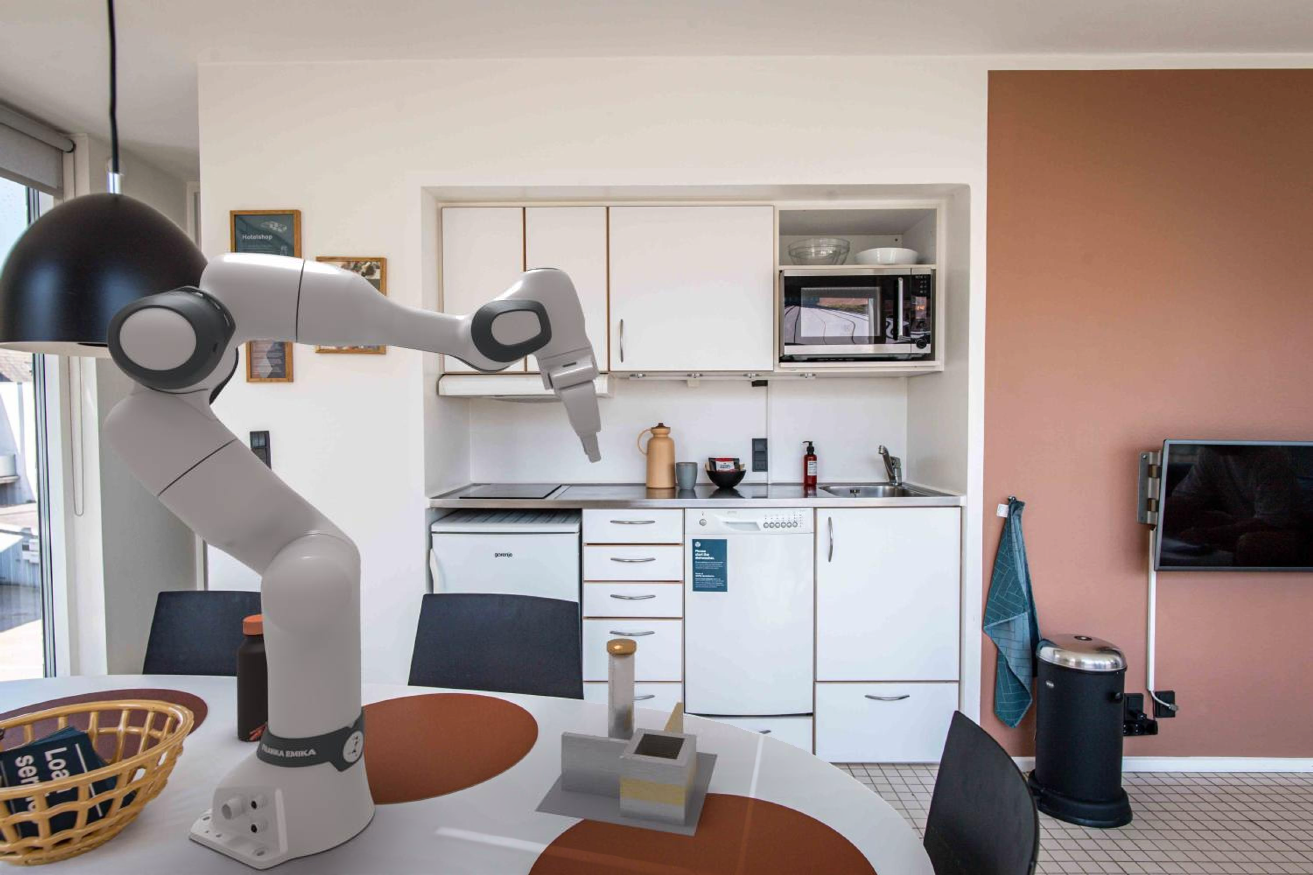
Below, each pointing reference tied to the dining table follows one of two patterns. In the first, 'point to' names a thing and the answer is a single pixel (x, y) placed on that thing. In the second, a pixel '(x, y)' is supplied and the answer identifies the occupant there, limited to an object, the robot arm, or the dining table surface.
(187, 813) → the dining table surface
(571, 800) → the base board
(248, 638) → the bottle
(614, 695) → the hinge pin
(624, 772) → the hinge
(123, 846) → the dining table surface
